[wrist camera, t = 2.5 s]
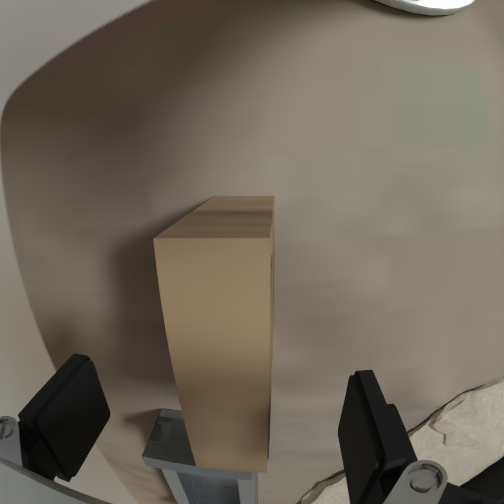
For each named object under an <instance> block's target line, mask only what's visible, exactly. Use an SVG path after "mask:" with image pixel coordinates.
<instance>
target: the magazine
mask: <svg viewBox="0 0 504 504" xmlns="http://www.w3.org/2000/svg"><path fill="white" fill-rule="evenodd" d="M459 487H462V488H465V489H468V490H470V491H473V492H476V493H479V494H482V495H485V496H488V497H491V498H493V499H495V500H497V501H498V502H499V504H504V456H503V457H502V458H501V459H499V460H498V461H496V462H495V463H493V464H492V465H490V466H489V467H487V468H486V469H485V470H483V471H482V472H481V473H479V474H477V475H476V476H475V477H473V478H472V479H470V480H469V481H467V482H465V483H464V484H462V485H460V486H459Z"/></svg>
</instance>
